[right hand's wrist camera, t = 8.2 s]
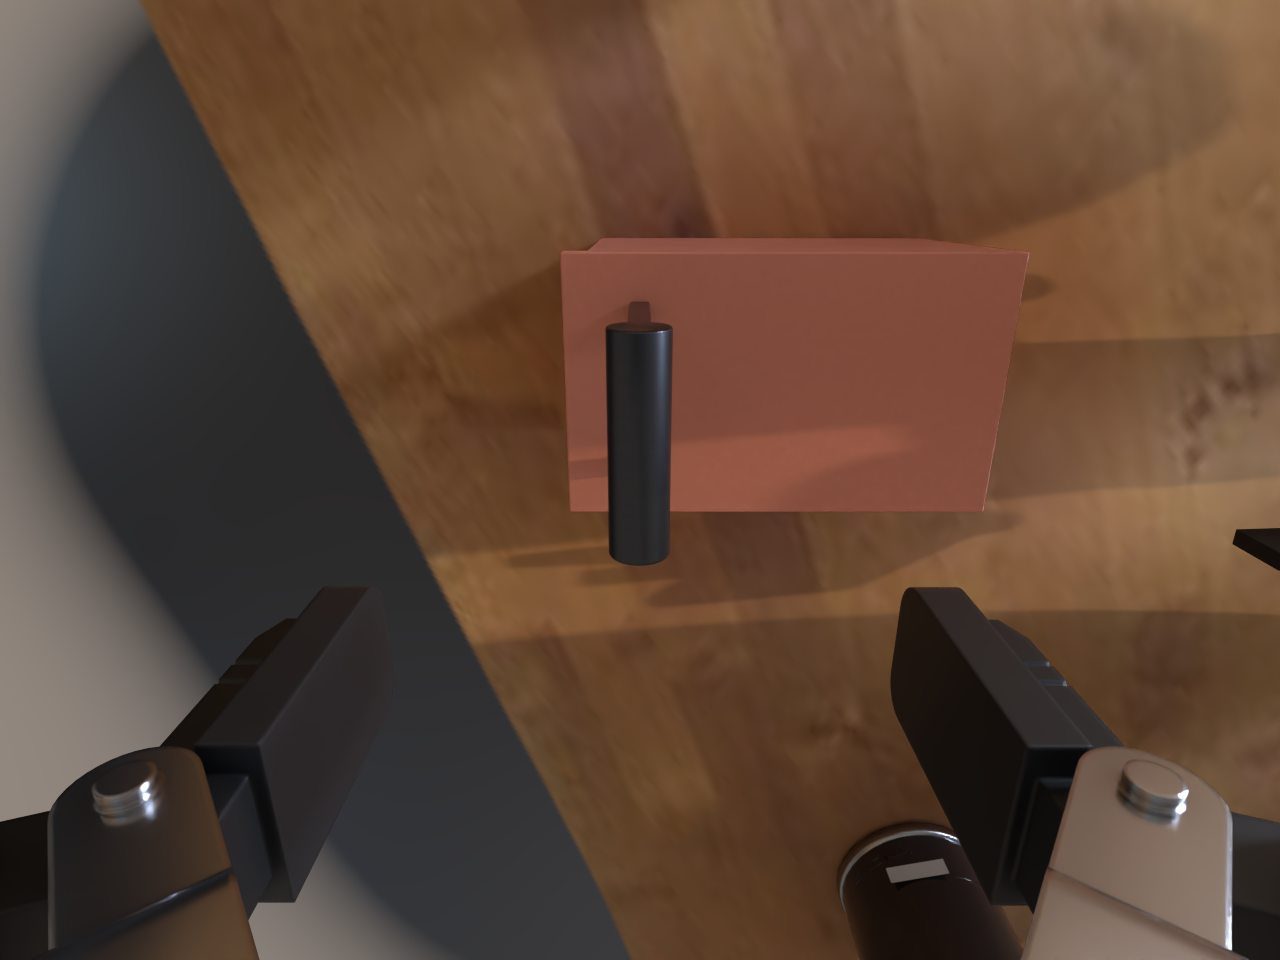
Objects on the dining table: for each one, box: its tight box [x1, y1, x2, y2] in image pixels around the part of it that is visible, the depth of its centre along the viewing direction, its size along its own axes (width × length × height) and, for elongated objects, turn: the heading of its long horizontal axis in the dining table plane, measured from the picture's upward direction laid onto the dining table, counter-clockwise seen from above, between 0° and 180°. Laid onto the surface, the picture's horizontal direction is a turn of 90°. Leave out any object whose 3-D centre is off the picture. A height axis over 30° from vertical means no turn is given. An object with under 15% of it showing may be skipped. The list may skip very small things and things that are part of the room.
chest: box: [588, 238, 1015, 251], centre depth 32 cm, size 15×10×10 cm, turn 90°
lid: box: [560, 251, 1029, 566], centre depth 23 cm, size 16×10×8 cm, turn 90°
